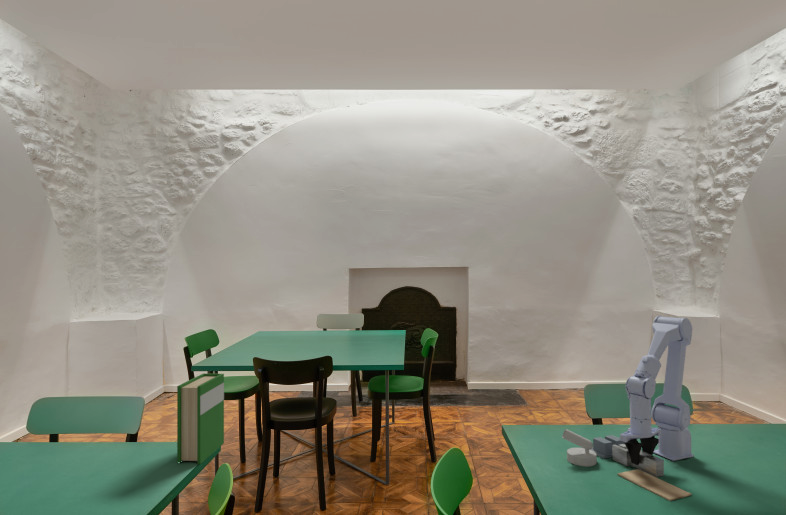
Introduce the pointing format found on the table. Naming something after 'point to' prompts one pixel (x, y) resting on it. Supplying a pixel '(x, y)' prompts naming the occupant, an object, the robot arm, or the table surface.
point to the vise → (606, 445)
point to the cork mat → (654, 484)
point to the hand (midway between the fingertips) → (641, 462)
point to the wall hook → (580, 450)
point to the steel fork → (646, 461)
